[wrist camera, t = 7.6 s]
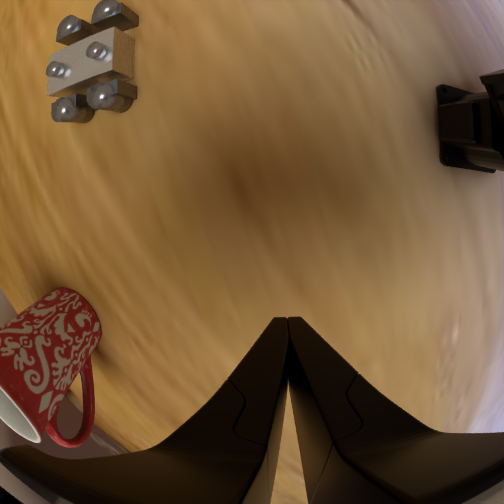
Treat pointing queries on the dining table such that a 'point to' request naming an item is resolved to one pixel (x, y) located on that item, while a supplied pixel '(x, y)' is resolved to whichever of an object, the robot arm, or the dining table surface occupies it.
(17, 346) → the mug
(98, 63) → the block with round pegs
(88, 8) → the dining table surface
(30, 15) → the dining table surface
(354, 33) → the dining table surface
